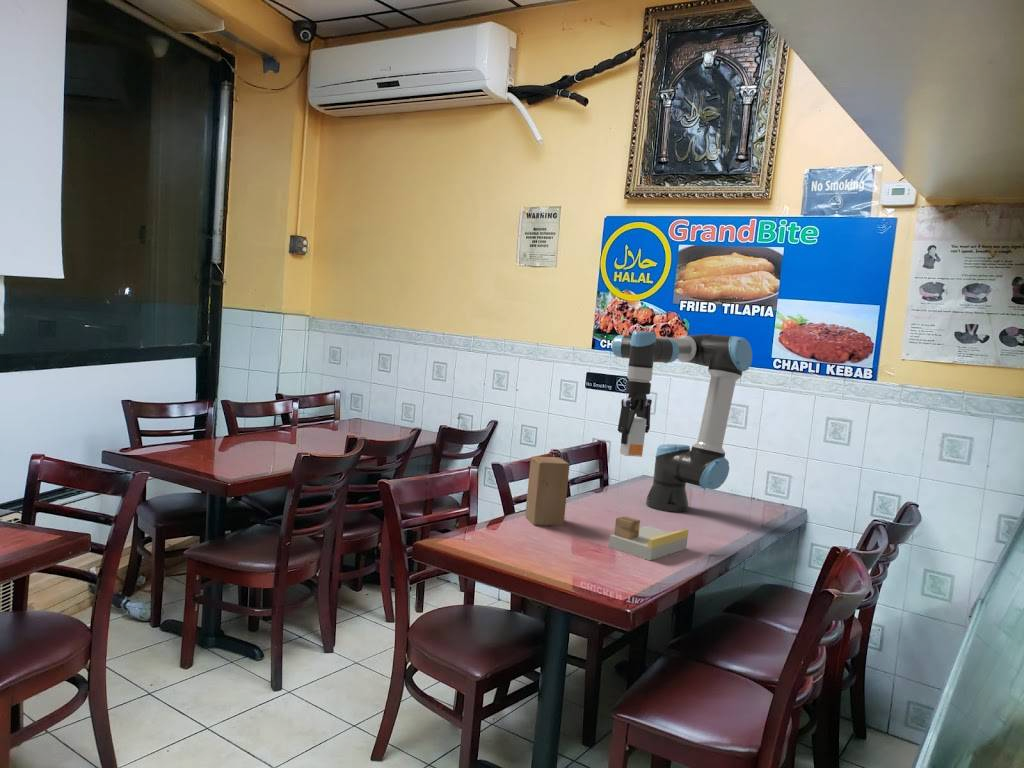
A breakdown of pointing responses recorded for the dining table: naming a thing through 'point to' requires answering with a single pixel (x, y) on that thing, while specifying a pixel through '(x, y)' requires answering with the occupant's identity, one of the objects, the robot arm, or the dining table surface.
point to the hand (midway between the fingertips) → (631, 453)
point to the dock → (651, 543)
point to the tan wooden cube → (627, 527)
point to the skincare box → (637, 437)
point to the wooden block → (547, 491)
